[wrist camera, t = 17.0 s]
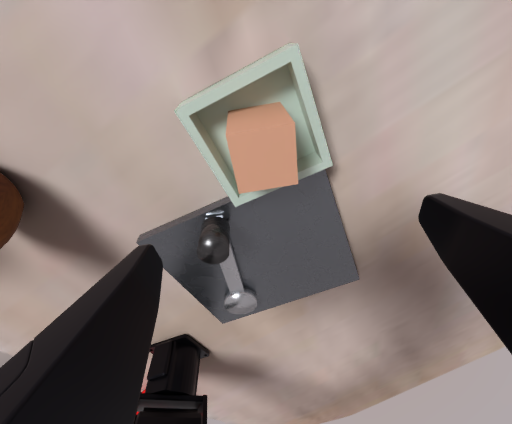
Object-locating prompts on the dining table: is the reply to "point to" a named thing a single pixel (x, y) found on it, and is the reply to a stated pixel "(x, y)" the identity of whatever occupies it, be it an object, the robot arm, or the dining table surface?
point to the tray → (253, 94)
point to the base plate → (263, 247)
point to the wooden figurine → (9, 209)
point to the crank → (225, 263)
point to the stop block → (262, 147)
